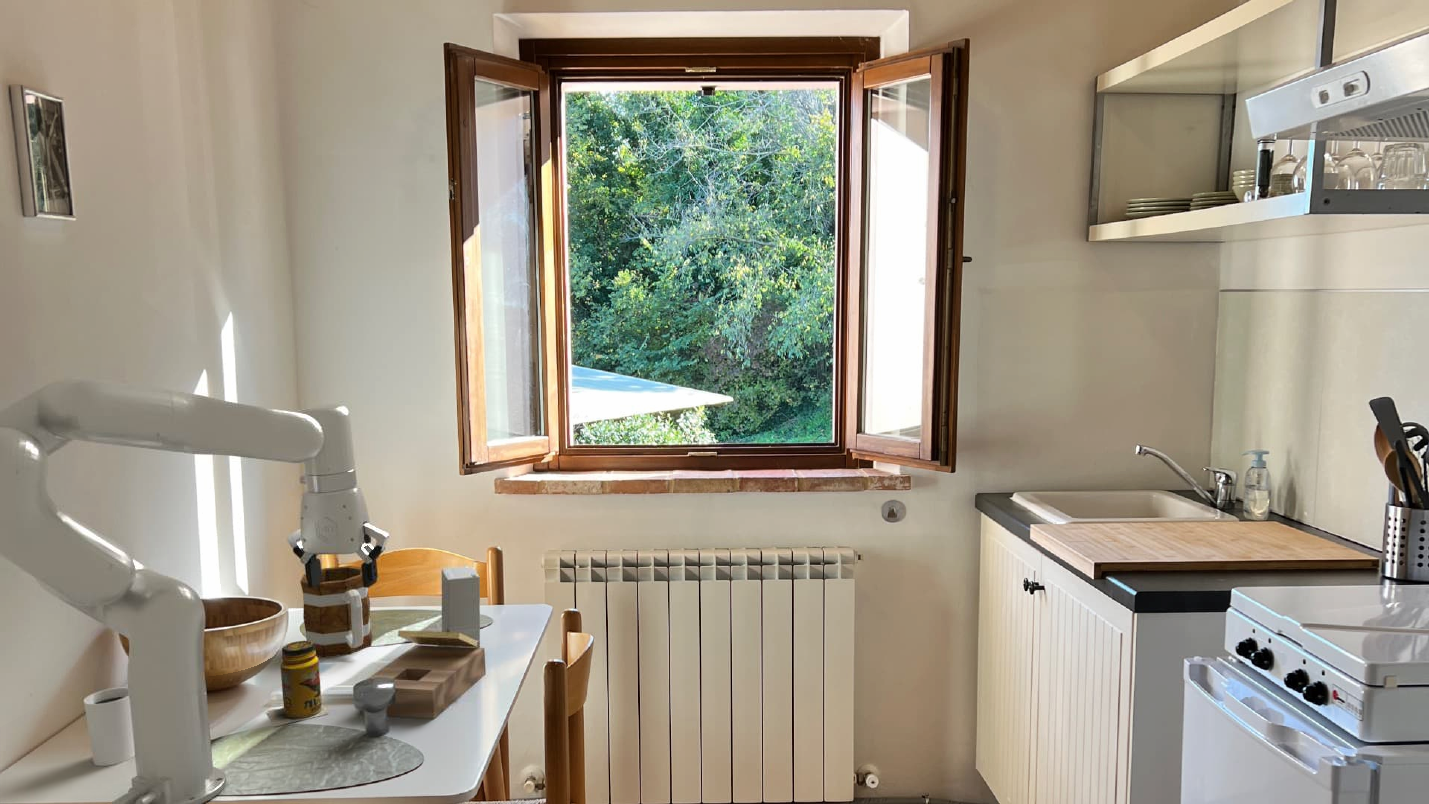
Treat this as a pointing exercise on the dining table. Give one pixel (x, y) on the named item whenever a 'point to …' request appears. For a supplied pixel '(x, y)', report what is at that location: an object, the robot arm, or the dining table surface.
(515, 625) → the dining table surface
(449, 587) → the skincare box
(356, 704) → the steel pin
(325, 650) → the mug
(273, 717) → the condiment
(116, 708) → the white cup
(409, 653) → the block
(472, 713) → the dining table surface
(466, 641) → the brass keeper
